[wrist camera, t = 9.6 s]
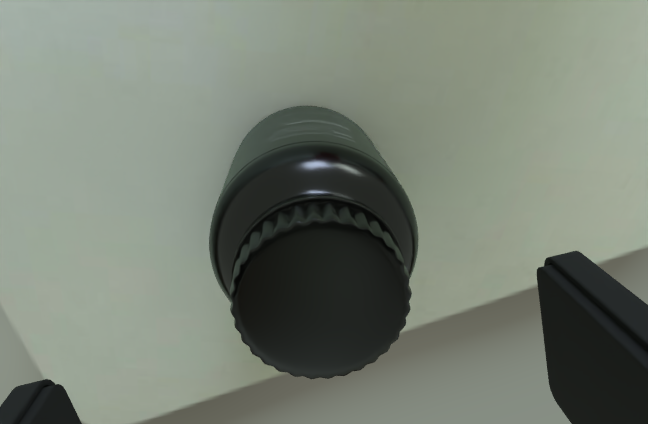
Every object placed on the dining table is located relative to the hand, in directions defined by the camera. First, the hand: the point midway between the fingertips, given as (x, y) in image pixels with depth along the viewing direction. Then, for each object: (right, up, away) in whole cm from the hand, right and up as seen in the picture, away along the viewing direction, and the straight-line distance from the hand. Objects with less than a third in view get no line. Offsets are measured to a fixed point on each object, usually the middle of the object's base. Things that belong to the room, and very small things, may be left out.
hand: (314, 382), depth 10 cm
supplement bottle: (-1, +5, +15) cm, 16 cm away
